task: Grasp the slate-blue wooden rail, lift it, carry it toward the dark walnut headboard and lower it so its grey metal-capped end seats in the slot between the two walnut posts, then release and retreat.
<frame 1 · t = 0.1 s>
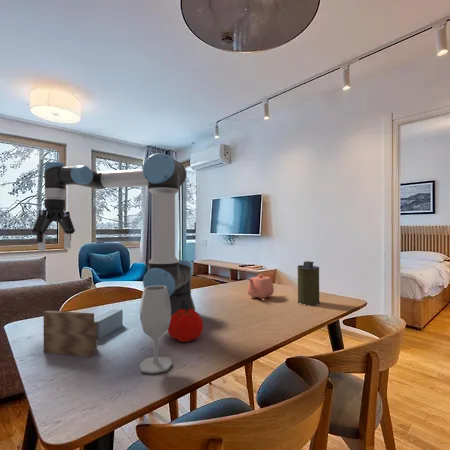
hand: (55, 249, 122), 28 cm above the table, fingers open, 13 cm apart
tomato: (185, 339, 97), on the table
headboard: (76, 348, 89), on the table
canister: (308, 303, 141), on the table
wineglass: (155, 367, 77), on the table
teapot: (259, 298, 152), on the table
rail: (106, 331, 104), on the table
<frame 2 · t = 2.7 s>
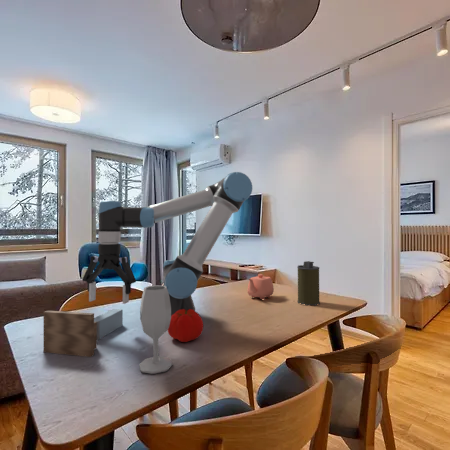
hand: (108, 301, 106), 10 cm above the table, fingers open, 13 cm apart
nothing on the table moved.
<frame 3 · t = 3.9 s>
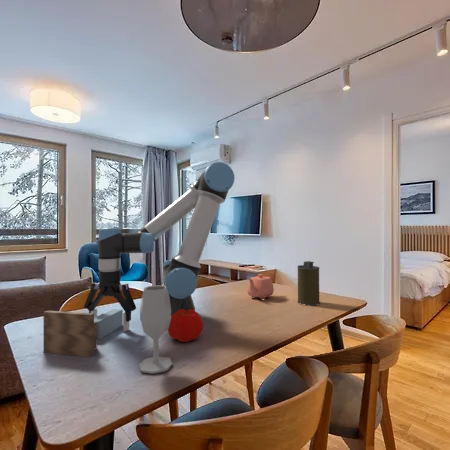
hand: (109, 329, 106), 0 cm above the table, fingers open, 12 cm apart
nothing on the table moved.
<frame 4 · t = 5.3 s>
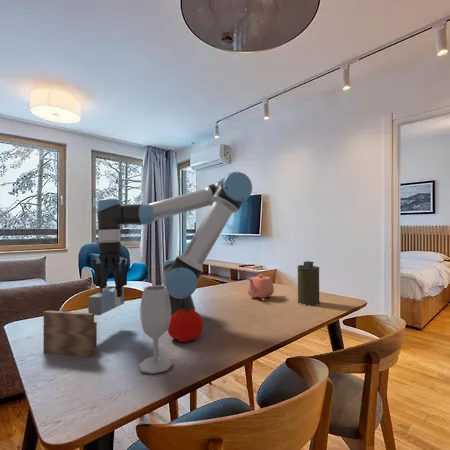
hand: (111, 305, 106), 9 cm above the table, fingers closed on rail, 4 cm apart
rail: (108, 308, 104), point 8 cm above the table, touching gripper
everything else where it was.
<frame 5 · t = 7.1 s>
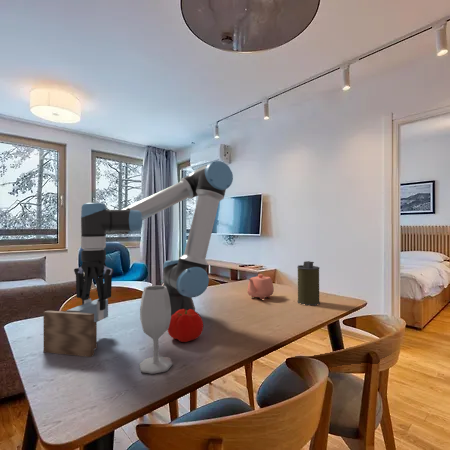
hand: (93, 319, 97), 7 cm above the table, fingers closed on rail, 4 cm apart
rail: (89, 322, 95), point 6 cm above the table, touching gripper
everything else where it was.
when the fingers open (0 cm above the table, at t = 8.9 s): rail stays where it is, on the table.
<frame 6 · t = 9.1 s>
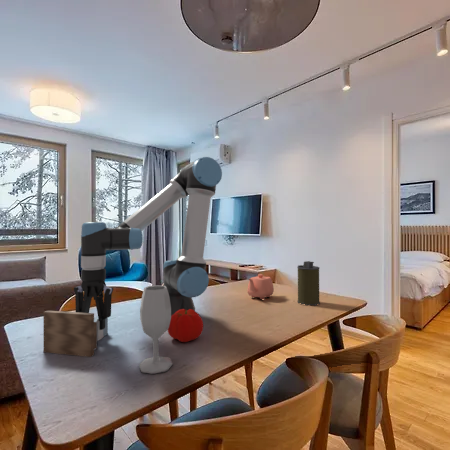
hand: (93, 338, 97), 0 cm above the table, fingers open, 4 cm apart
rail: (89, 341, 95), on the table
everything else where it was.
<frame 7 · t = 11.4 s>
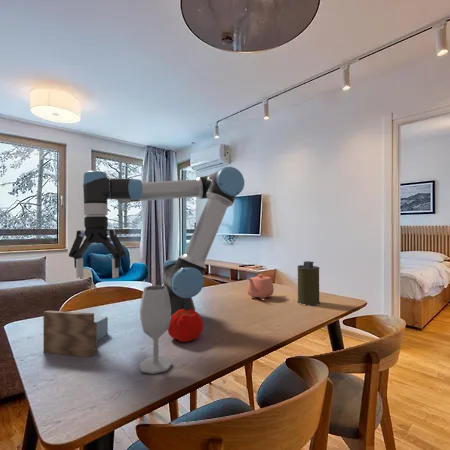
hand: (97, 277, 101), 20 cm above the table, fingers open, 13 cm apart
nothing on the table moved.
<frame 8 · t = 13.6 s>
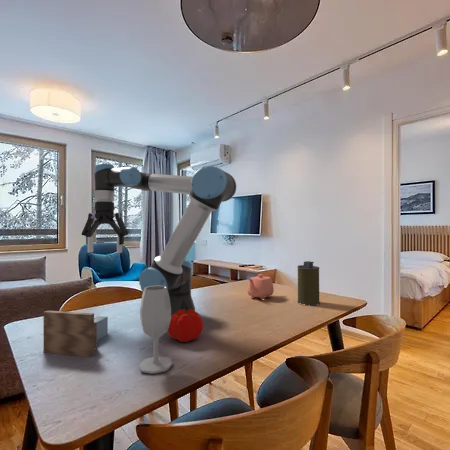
hand: (104, 252, 121), 27 cm above the table, fingers open, 13 cm apart
nothing on the table moved.
at the end: rail 0.5 cm from the target spot on the table beside the headboard, on the table; rail tilted 0°; the gripper is holding nothing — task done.
